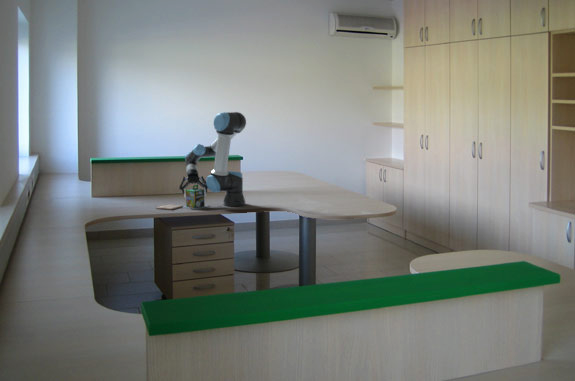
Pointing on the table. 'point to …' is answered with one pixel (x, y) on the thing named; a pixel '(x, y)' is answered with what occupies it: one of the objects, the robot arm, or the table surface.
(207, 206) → the plate
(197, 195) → the chalk box
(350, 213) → the table surface
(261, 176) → the table surface
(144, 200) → the table surface
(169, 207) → the walnut board
